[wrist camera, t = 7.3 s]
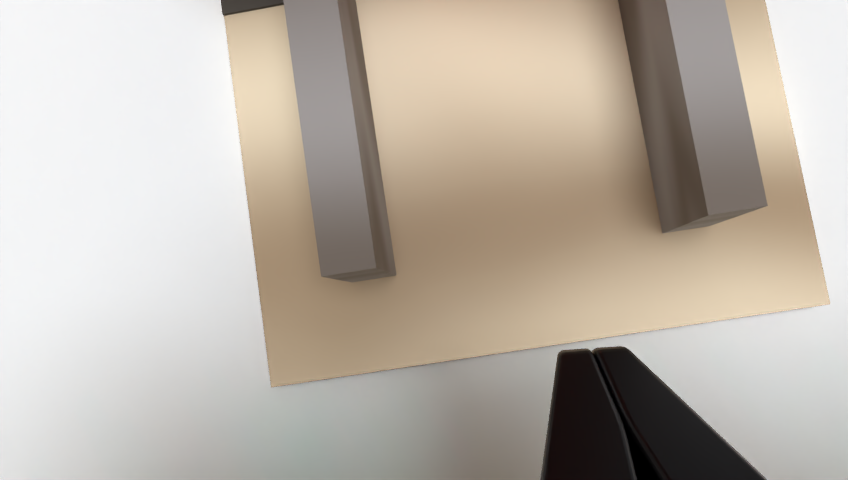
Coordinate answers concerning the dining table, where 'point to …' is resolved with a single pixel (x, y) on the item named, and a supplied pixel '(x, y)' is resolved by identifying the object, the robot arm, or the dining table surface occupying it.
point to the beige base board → (511, 175)
